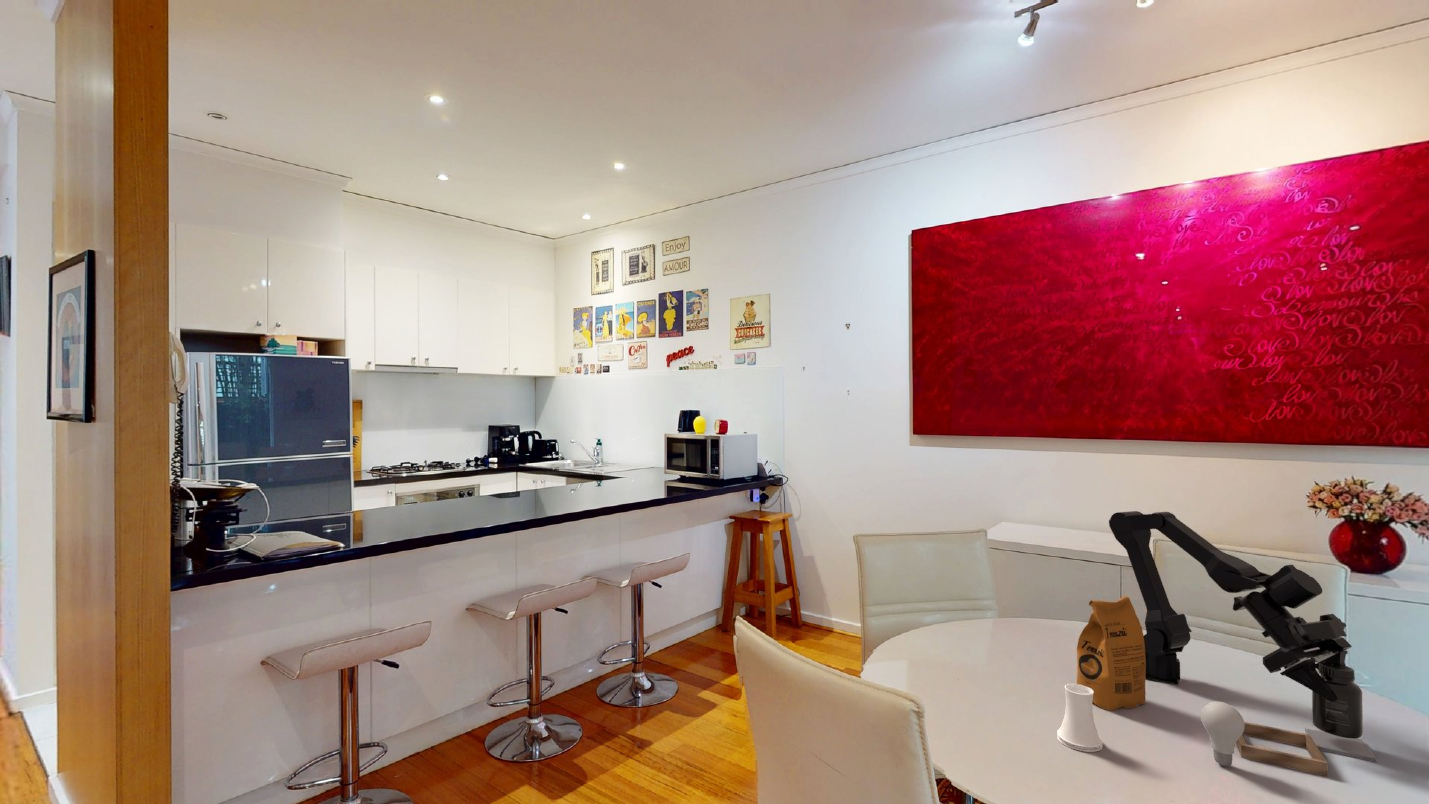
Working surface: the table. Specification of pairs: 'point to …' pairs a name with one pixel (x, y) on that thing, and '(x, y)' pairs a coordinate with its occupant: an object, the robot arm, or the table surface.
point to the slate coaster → (1341, 745)
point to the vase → (1079, 720)
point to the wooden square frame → (1311, 765)
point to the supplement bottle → (1339, 703)
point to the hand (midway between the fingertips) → (1346, 698)
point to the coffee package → (1113, 655)
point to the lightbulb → (1222, 729)
